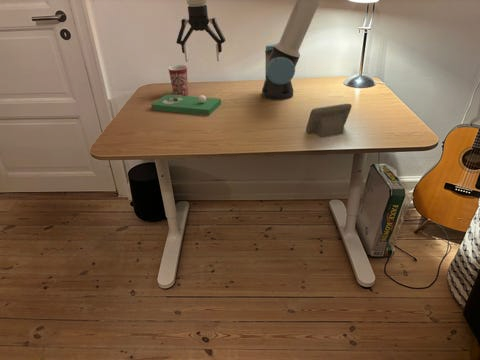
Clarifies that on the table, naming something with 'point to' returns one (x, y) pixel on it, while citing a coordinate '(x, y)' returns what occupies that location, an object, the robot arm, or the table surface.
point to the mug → (179, 79)
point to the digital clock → (328, 120)
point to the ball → (202, 99)
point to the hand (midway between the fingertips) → (202, 60)
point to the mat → (186, 104)
